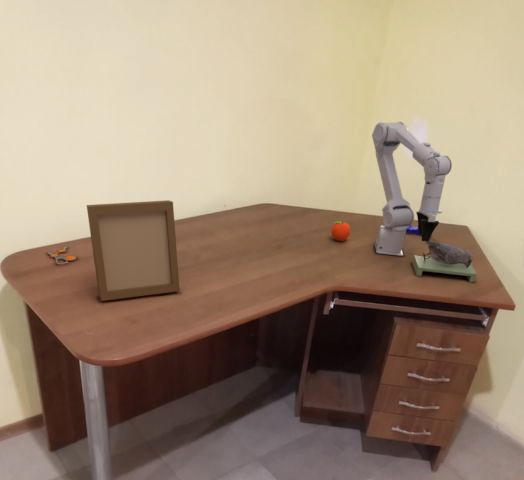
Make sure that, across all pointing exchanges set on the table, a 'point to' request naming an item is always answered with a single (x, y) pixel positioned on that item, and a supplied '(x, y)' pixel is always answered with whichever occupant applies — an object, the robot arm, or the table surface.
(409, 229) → the blue curved piece
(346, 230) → the red tomato
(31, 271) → the table surface
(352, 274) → the table surface
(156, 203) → the photo frame
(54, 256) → the key chain
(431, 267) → the shelf
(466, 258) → the bird
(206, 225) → the table surface
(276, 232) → the table surface
